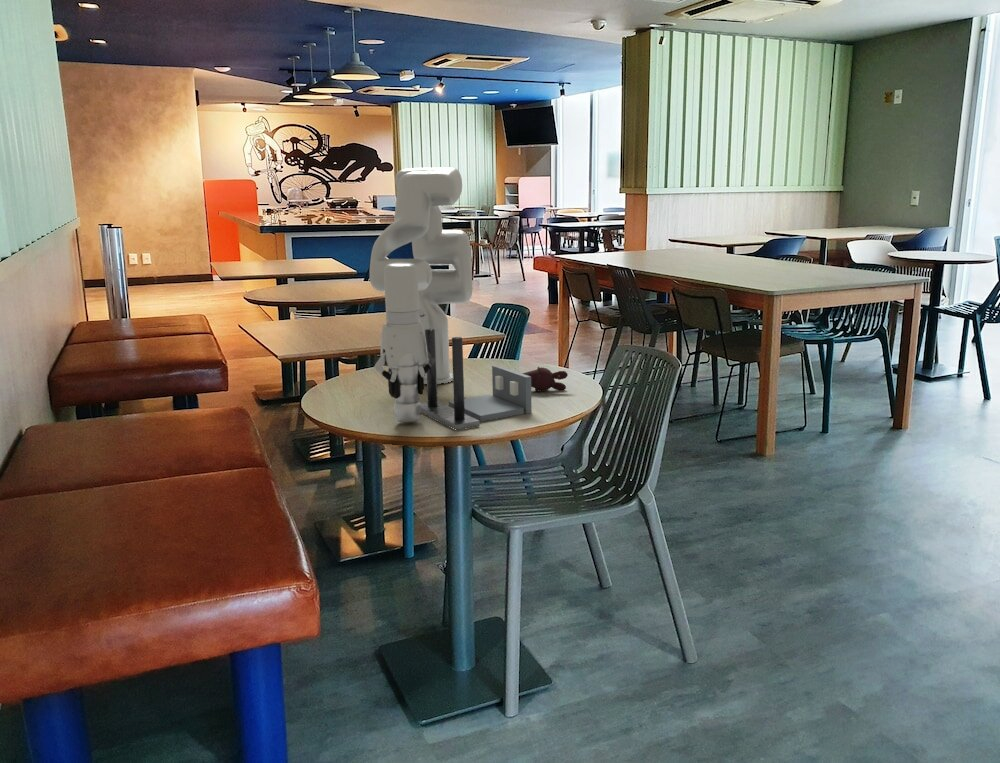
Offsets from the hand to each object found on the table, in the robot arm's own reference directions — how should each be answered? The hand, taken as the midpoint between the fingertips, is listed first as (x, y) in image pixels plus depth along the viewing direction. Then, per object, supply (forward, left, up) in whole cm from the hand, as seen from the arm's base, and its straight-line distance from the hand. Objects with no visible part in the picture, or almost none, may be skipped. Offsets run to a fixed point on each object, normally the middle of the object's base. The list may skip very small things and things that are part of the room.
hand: (406, 394), depth 185 cm
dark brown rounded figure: (-8, +43, -7) cm, 44 cm away
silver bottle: (0, 0, -7) cm, 7 cm away
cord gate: (0, +10, -7) cm, 12 cm away
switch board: (0, +22, -7) cm, 23 cm away
